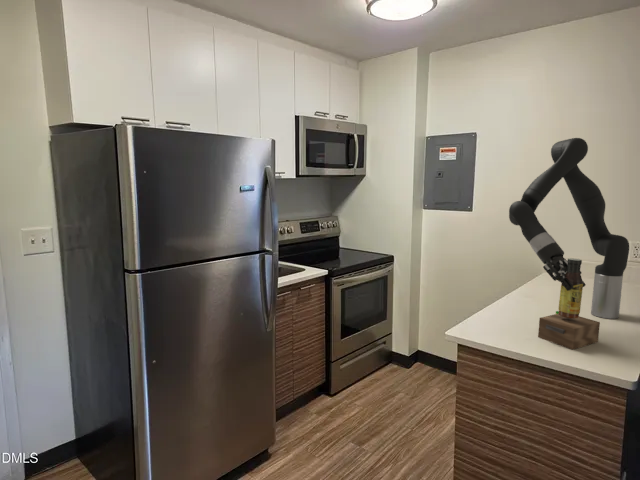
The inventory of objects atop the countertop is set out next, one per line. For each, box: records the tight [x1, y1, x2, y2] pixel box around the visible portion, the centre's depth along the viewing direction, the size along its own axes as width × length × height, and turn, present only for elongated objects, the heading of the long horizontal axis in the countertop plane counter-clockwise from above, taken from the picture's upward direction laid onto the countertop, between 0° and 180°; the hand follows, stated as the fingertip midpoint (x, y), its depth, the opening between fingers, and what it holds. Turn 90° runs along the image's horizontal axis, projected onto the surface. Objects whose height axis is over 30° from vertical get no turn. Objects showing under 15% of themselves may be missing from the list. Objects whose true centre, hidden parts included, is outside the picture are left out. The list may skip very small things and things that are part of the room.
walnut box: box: [537, 313, 601, 350], centre depth 136 cm, size 15×12×7 cm
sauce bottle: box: [557, 257, 584, 318], centre depth 135 cm, size 6×6×20 cm
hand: (576, 288), depth 133 cm, fingers closed on sauce bottle, 6 cm apart
